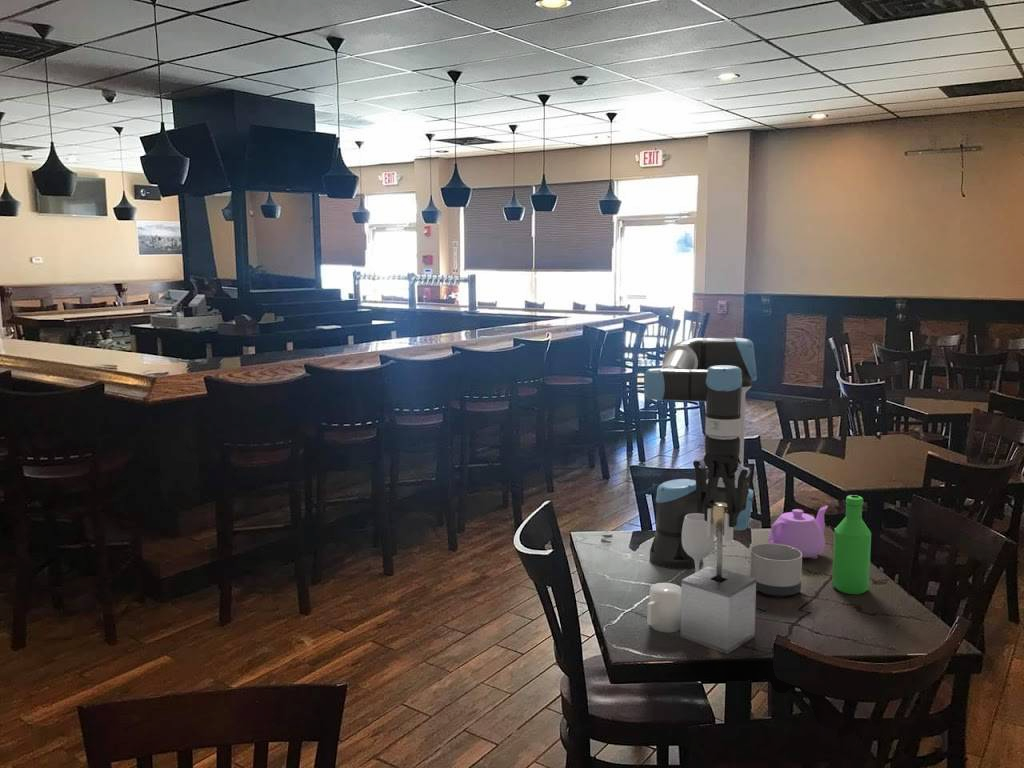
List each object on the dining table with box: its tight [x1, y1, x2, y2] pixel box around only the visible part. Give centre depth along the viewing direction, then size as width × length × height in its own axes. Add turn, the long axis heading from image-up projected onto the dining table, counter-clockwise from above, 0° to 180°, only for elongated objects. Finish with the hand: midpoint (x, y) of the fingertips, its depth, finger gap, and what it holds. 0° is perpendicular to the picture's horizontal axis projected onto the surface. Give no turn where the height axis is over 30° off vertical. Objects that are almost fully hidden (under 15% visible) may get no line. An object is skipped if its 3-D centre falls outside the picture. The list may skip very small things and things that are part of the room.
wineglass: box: [682, 513, 715, 573], centre depth 201 cm, size 9×9×21 cm
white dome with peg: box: [646, 582, 681, 633], centre depth 184 cm, size 8×11×9 cm
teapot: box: [768, 505, 829, 560], centre depth 229 cm, size 22×16×14 cm
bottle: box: [831, 494, 872, 595], centre depth 203 cm, size 9×9×25 cm
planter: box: [749, 543, 803, 597], centre depth 204 cm, size 13×13×10 cm
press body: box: [680, 565, 757, 655], centre depth 178 cm, size 12×12×14 cm
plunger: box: [712, 503, 728, 583], centre depth 177 cm, size 9×9×23 cm
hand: (719, 537), depth 176 cm, fingers closed on plunger, 4 cm apart
